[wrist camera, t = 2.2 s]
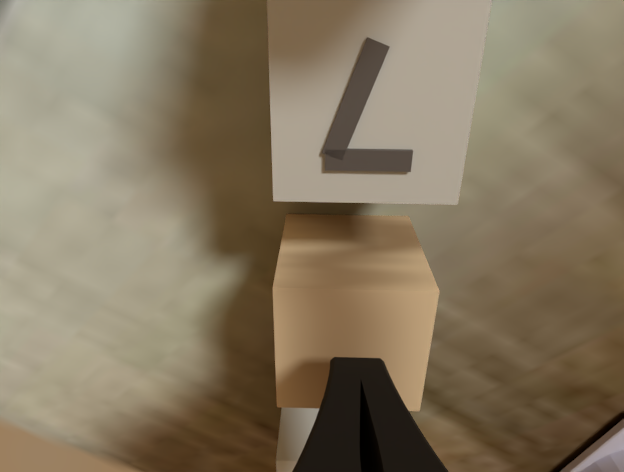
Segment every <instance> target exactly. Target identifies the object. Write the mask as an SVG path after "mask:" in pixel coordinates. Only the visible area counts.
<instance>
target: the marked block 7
mask: <svg viewBox="0 0 624 472" xmlns="http://www.w3.org/2000/svg"><path fill="white" fill-rule="evenodd" d="M491 4H492V0H267V22H268V54H269V85H270V116H271V147H272V178H273V201H284V202H339V203H394V204H449V205H458V199H459V194H460V188H461V182H462V176H463V170H464V164H465V158H466V152H467V146H468V140H469V134H470V128H471V122H472V116H473V110H474V105H475V99H476V93H477V87H478V81H479V75H480V69H481V63H482V57H483V51H484V45H485V39H486V33H487V27H488V21H489V16H490V10H491Z"/></svg>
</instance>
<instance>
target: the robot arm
mask: <svg viewBox="0 0 624 472" xmlns="http://www.w3.org/2000/svg"><path fill="white" fill-rule="evenodd" d="M292 472H448V470H447V469H446V468H445V466H444V465H443V463H442V462H441V461H440V459H439V458H438V456H437V455H436V454H435V452H434V451H433V449H432V448H431V446H430V445H429V443H428V442H427V440H426V439H425V437H424V436H423V434H422V432H421V431H420V429H419V428H418V426H417V424H416V423H415V421H414V419H413V418H412V416H411V414H410V413H409V411H408V409H407V408H406V406H405V404H404V402H403V400H402V399H401V397H400V395H399V393H398V391H397V389H396V387H395V385H394V383H393V381H392V379H391V377H390V375H389V372H388V370H387V368H386V365H385V363H384V361H383V360H382V359H381V358H357V357H334V358H332V359H331V360H330V370H329V377H328V381H327V385H326V389H325V393H324V396H323V399H322V402H321V405H320V408H319V411H318V414H317V417H316V420H315V422H314V425H313V427H312V430H311V432H310V434H309V437H308V439H307V441H306V444H305V446H304V448H303V451H302V453H301V455H300V457H299V459H298V461H297V463H296V465H295V467H294V469H293V471H292ZM560 472H624V419H622V420H621V421H620V422H619V423H618V424H616V425H615V426H614V427H613V428H612V429H610V430H609V431H608V432H607V433H606V434H604V435H603V436H602V437H601V438H600V439H598V440H597V441H596V442H595V443H594V444H592V445H591V446H590V447H589V448H587V449H586V450H585V451H584V452H583V453H581V454H580V455H579V456H578V457H577V458H575V459H574V460H573V461H572V462H571V463H569V464H568V465H567V466H566V467H565V468H563V469H562V470H561V471H560Z"/></svg>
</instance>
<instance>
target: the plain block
mask: <svg viewBox="0 0 624 472" xmlns="http://www.w3.org/2000/svg"><path fill="white" fill-rule="evenodd" d="M438 297H439V289H438V287H437V284H436V282H435V279H434V277H433V274H432V272H431V270H430V267H429V265H428V262H427V260H426V257H425V255H424V253H423V250H422V248H421V245H420V243H419V240H418V238H417V236H416V233H415V231H414V228H413V226H412V223H411V221H410V219H409V216H374V215H321V214H286V219H285V224H284V229H283V235H282V240H281V245H280V251H279V256H278V261H277V267H276V272H275V277H274V283H273V314H274V342H275V369H276V397H277V407H283V408H320V405H321V402H322V399H323V396H324V393H325V389H326V385H327V381H328V377H329V370H330V360H331V359H332V358H334V357H357V358H381V359H382V360H383V361H384V363H385V365H386V368H387V370H388V372H389V375H390V377H391V379H392V381H393V383H394V385H395V387H396V389H397V391H398V393H399V395H400V397H401V399H402V400H403V402H404V404H405V406H406V408H407V409H408V411H420V406H421V400H422V394H423V388H424V382H425V376H426V370H427V364H428V358H429V352H430V346H431V339H432V333H433V327H434V321H435V315H436V309H437V303H438Z"/></svg>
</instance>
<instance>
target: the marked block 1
mask: <svg viewBox="0 0 624 472" xmlns="http://www.w3.org/2000/svg"><path fill="white" fill-rule="evenodd" d="M318 411H319V408H283V407H282V408H281V418H280V427H279V436H278V445H277V454H276V472H292V471H293V469H294V467H295V465H296V463H297V461H298V459H299V457H300V455H301V453H302V451H303V448H304V446H305V444H306V441H307V439H308V437H309V434H310V432H311V430H312V427H313V425H314V422H315V420H316V417H317V414H318Z"/></svg>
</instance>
